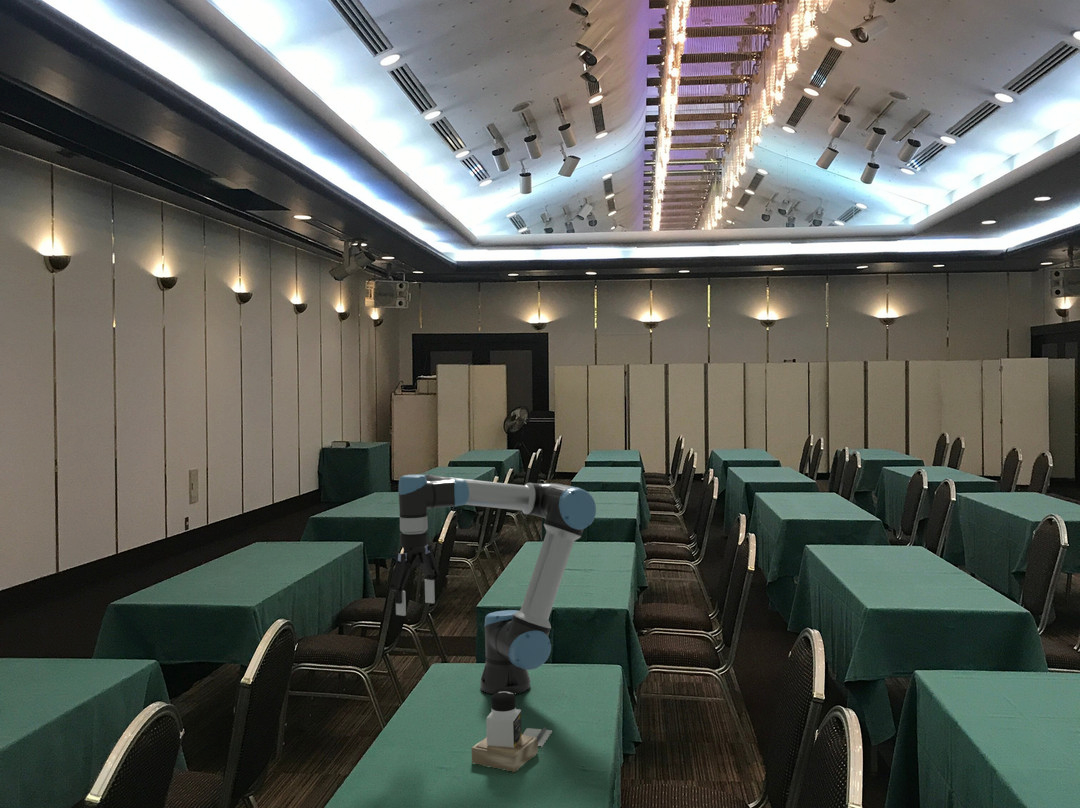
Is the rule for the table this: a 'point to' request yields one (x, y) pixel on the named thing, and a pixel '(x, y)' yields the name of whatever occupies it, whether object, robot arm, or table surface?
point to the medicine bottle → (503, 721)
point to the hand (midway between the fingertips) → (415, 608)
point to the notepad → (538, 734)
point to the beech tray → (505, 754)
